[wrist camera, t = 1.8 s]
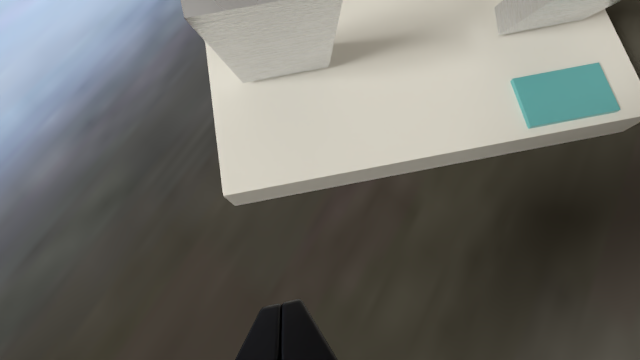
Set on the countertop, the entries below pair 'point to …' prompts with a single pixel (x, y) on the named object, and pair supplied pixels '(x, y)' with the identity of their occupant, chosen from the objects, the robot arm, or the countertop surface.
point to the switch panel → (418, 97)
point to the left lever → (267, 34)
